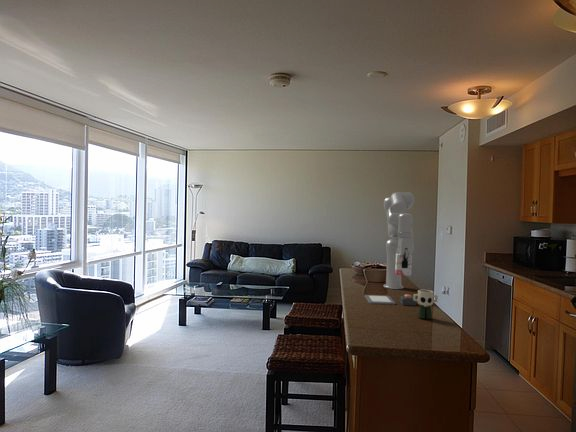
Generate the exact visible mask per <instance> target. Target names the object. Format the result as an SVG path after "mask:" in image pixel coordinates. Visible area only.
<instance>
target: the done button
mask: <svg viewBox="0 0 576 432" xmlns="http://www.w3.org/2000/svg"><path fill="white" fill-rule="evenodd" d="M403 296H404V298H411V296H412V294H407V293H406V294H404V295H403Z"/></svg>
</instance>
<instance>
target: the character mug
mask: <svg viewBox="0 0 576 432" xmlns="http://www.w3.org/2000/svg"><path fill="white" fill-rule="evenodd" d="M413 297H414V298H413V300H414V301H416V302H417V304H418V305H419V307H418V312H417V317H418V318H420V319H427V320H430V319H432V317H433V316H432V307H431V306H432V305H434V303H437V302H438V300H439V299H438V295H437V294H436V295H435V294H434V291H433V290H429V289H418V290H417V293H415V294H414V293H413ZM416 297H417V298H416Z"/></svg>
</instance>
